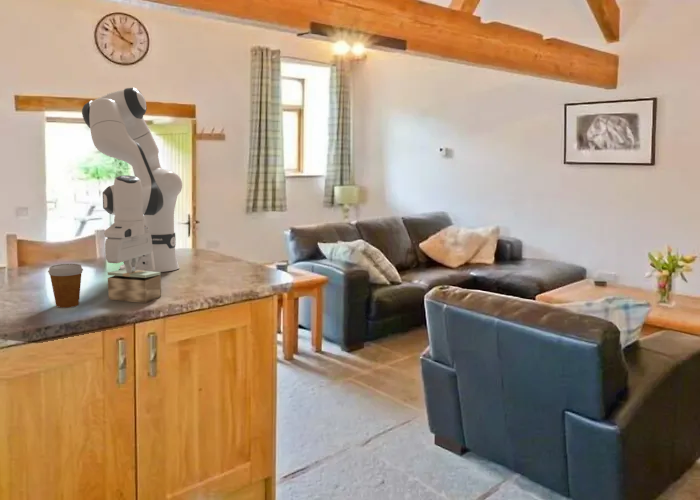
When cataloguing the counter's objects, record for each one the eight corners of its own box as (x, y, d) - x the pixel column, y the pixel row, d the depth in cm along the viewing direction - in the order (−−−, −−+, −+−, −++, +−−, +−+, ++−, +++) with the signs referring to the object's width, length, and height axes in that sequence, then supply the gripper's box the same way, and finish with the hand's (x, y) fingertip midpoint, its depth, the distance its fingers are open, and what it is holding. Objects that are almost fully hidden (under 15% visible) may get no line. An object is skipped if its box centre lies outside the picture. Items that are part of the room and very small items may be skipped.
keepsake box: (108, 299, 194) (107, 277, 193) (125, 293, 202) (124, 272, 201) (145, 303, 191) (145, 280, 190) (161, 296, 200) (160, 275, 198)
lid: (107, 274, 193) (107, 272, 192) (124, 271, 201) (124, 269, 201) (144, 277, 190) (144, 275, 189) (160, 274, 198) (160, 272, 198)
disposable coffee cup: (73, 299, 193) (71, 261, 191) (91, 304, 188) (89, 265, 186) (43, 305, 185) (41, 266, 183) (61, 311, 180) (59, 270, 178)
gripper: (139, 224, 202) (140, 265, 205) (100, 232, 183) (102, 278, 185) (156, 225, 201) (157, 266, 203) (119, 233, 181) (120, 279, 184)
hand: (131, 272), depth 194 cm, fingers closed
